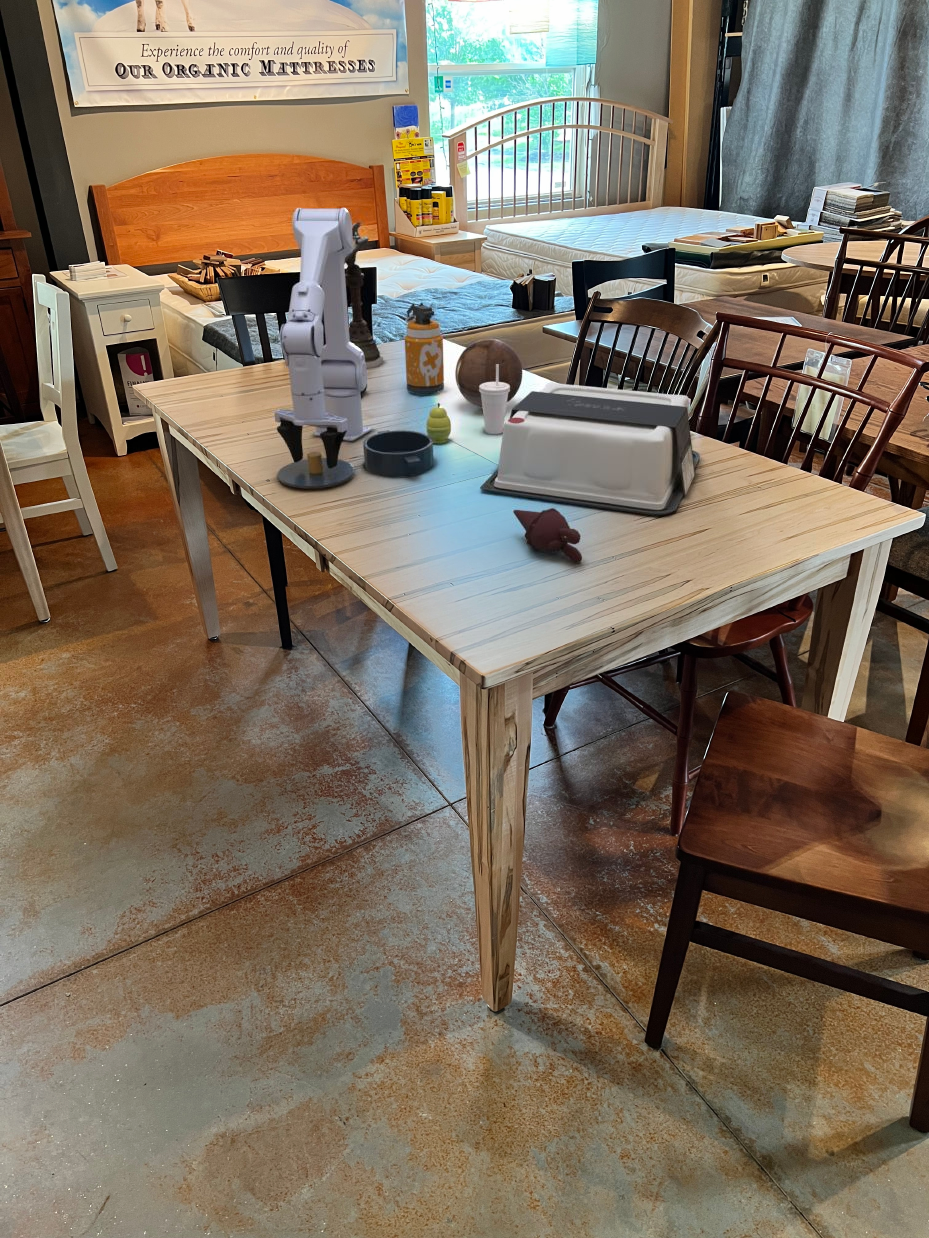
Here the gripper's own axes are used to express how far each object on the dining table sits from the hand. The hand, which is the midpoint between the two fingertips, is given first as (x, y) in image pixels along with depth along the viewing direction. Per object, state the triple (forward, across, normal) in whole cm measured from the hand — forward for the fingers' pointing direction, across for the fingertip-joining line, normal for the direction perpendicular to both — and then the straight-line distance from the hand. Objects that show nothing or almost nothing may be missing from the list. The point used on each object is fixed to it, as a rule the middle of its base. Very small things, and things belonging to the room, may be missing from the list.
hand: (315, 463), depth 161 cm
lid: (+2, 0, 0) cm, 2 cm away
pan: (+3, +11, +12) cm, 16 cm away
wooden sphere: (+3, +12, +52) cm, 53 cm away
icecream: (+3, +50, -11) cm, 51 cm away
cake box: (+3, +47, +23) cm, 52 cm away
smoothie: (+3, +20, +37) cm, 42 cm away
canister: (+3, -8, +58) cm, 59 cm away
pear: (+3, +12, +27) cm, 30 cm away
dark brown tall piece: (+3, -36, +71) cm, 80 cm away
